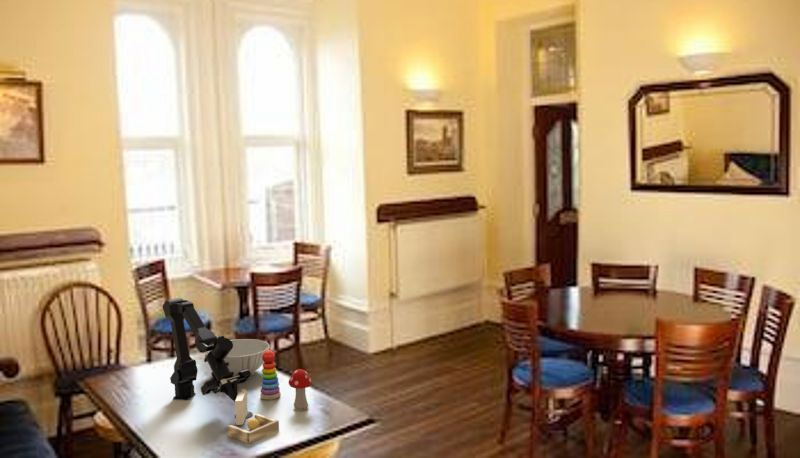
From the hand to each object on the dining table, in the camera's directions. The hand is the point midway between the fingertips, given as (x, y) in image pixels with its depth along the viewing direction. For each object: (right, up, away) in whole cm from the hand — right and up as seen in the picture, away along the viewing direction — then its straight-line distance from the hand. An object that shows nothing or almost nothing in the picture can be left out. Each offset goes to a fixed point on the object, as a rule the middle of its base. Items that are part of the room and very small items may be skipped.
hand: (236, 401), depth 245 cm
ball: (+8, -6, -8) cm, 12 cm away
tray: (+8, -8, -10) cm, 16 cm away
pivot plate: (+1, -6, +5) cm, 8 cm away
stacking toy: (+8, -4, +24) cm, 25 cm away
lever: (+2, -6, +1) cm, 7 cm away
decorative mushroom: (+22, -6, +12) cm, 25 cm away
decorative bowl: (-11, -1, +51) cm, 52 cm away
